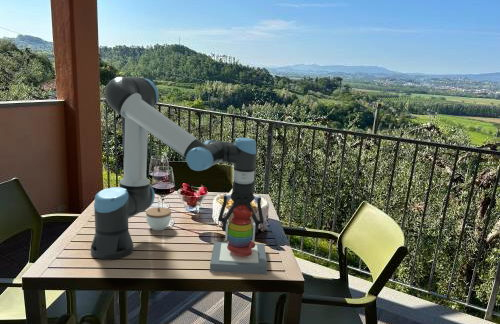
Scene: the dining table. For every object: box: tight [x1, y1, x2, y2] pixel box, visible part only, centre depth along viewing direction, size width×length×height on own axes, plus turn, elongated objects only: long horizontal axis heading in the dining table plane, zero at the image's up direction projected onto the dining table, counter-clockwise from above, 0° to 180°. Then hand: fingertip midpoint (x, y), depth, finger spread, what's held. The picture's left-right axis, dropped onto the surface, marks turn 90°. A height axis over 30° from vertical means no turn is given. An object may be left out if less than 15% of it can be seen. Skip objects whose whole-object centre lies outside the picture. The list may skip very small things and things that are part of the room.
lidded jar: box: [145, 206, 172, 231], centre depth 163 cm, size 11×11×9 cm
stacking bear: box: [227, 205, 256, 256], centre depth 135 cm, size 11×10×18 cm
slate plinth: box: [209, 241, 268, 275], centre depth 138 cm, size 20×18×3 cm
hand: (239, 239), depth 136 cm, fingers closed on stacking bear, 9 cm apart
